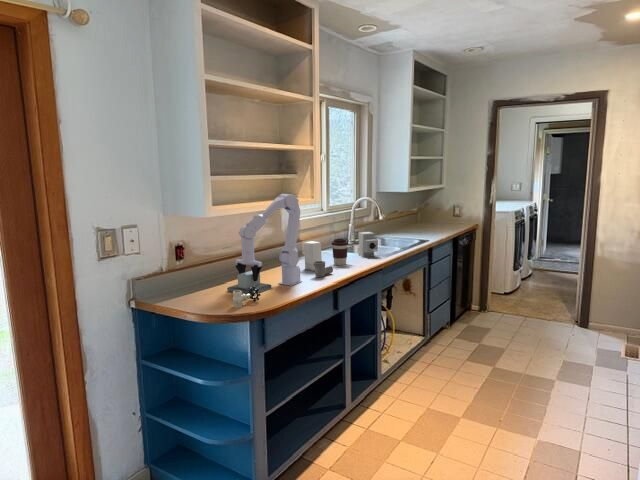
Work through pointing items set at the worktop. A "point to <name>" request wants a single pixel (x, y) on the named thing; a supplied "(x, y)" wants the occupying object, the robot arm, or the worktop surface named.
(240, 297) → the valve
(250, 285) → the block
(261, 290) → the shallow gray tray
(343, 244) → the coffee cup
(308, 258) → the skincare box
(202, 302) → the worktop surface
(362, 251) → the circuit breaker
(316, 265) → the pipe
